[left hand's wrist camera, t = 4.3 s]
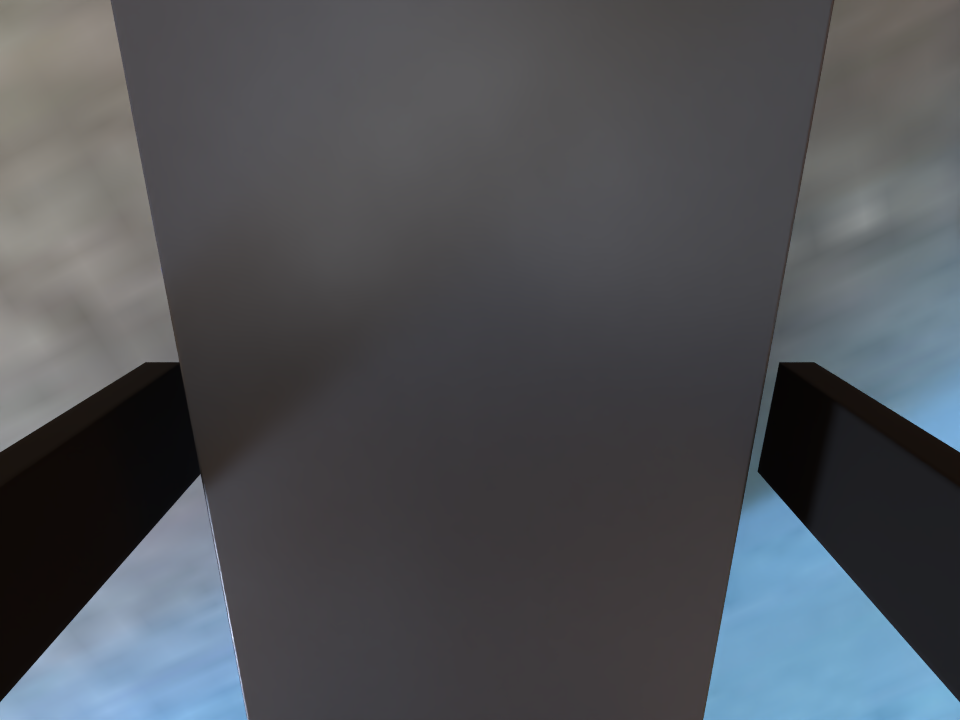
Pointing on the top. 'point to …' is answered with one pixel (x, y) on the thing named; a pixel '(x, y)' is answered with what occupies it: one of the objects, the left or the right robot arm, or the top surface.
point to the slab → (473, 332)
